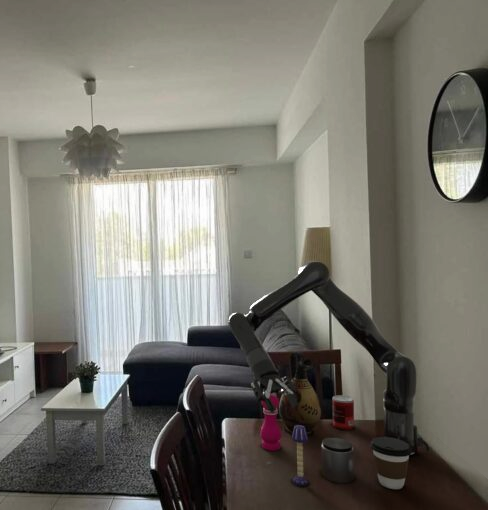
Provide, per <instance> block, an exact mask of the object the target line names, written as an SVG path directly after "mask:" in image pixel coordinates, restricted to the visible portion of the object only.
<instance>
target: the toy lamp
mask: <svg viewBox="0 0 488 510" xmlns="http://www.w3.org/2000/svg"><path fill="white" fill-rule="evenodd" d="M291 434H292V433H291ZM291 440H292V441H293V442H295V443H296V455H297V456H296V460H297V461H296V465H297V467H296V470H297V475H295V476H294V477H293V479H292V483H293V484H294V485H295V486H299V487H305V486H308V485H309V481H308V479H307V477H305V476H304V446H303V444H304V443H307V442H308V441H309V437H308V434H307V433H306V429H305V427H304V426H302V425H296V426H295V427H294V430H293V434H292V436H291Z"/></svg>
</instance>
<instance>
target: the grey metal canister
mask: <svg viewBox="0 0 488 510" xmlns="http://www.w3.org/2000/svg"><path fill="white" fill-rule="evenodd" d="M354 468H355V466H354V446H353V444H352V443H351V442H350V441H349V440H346V439H344V438H339V437H327V438H324V439H323V440H322V442H321V475H322V477H323V478H324V479H326V480H327V481H329V482H330V481H331V482H333V483H339V484H347V483H348V484H349V483H351V482H353V481H354V480H355V477H354V476H355V474H354V473H355V471H354V470H355V469H354Z"/></svg>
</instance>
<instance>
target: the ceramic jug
mask: <svg viewBox="0 0 488 510" xmlns="http://www.w3.org/2000/svg"><path fill="white" fill-rule="evenodd" d="M296 361H297V362H296ZM289 368H290V376H291V379H290V380H291V382H292V383H293V385H294V387H295V388H296V390H297V391H296V392H295V393H294V397H295V399H296V401H297V403H298V404H297V407H296V408H294V409H293V408H292V406H291V405H290V403H289V401H288V399H287V397H286V396H285V395H283V394H281V397H280V400H279V406H278V414H279V416H280V418H281V420H282V423H284V425H285V428H286V431H288V433H290V434H293V430H294V427H295V426H296V425H302V426H304V427H305V429H306V433H307V435H311V434H312V432H313V430H314V428H315V427H316V426H317V425H318V424H319V422H320V420H321V416H322V408H321V403H320V400H319V398H318V395H317V393H316V391H315V390H314V387H313V386H312V384H311V382H309V380H308V377H307V376H306V371H308V370H313V368H314V362H313V361H312V359H311V358H306V359H305V356H304V354H303V352H300V351H299V350H294V351H292V352H291V353H290V355H289ZM285 392H286V391H285ZM287 393H288V392H287Z"/></svg>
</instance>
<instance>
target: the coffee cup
mask: <svg viewBox="0 0 488 510" xmlns="http://www.w3.org/2000/svg"><path fill="white" fill-rule="evenodd" d="M369 446H370V448H371V449H372V455H373V461H374V467H375V471H376V473H377V478H378V482H379V484H380V485H381V486H383V487H385V488H387V489H390V490H391V489H392V490H400V489H403V487H404V485H405V481H406V477H407V474H408V470H409V469H408V468H409V462H410V456H409V455H410V454H411V453H412V450H411V448H410V446H409V444H407V443H406V442H404V441H402V440H399V439H395V438H391V437H383V436H378V437H374V438H373V439H371V442H370V443H369Z"/></svg>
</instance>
